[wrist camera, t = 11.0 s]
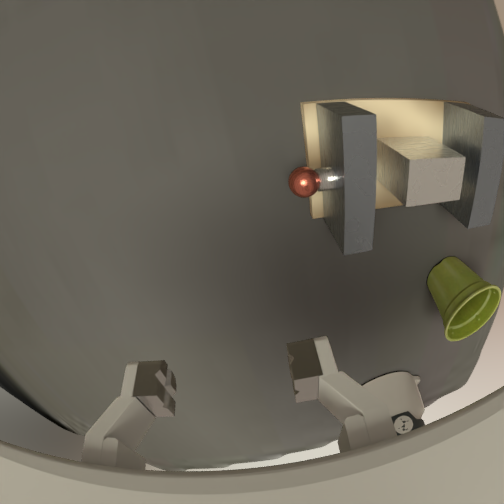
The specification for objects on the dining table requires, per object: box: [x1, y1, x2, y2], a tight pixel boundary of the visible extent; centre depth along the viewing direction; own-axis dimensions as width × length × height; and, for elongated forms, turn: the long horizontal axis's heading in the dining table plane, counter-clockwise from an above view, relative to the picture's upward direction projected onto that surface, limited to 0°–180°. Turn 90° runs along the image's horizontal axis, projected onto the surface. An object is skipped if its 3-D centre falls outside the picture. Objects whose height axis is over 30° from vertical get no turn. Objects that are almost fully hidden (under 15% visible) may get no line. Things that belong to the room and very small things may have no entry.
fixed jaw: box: [439, 102, 504, 229], centre depth 23 cm, size 11×4×6 cm, turn 9°
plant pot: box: [427, 257, 501, 341], centre depth 33 cm, size 9×9×9 cm
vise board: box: [300, 98, 471, 219], centre depth 26 cm, size 11×18×1 cm, turn 99°
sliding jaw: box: [288, 102, 377, 255], centre depth 23 cm, size 11×6×6 cm, turn 9°
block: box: [377, 136, 466, 207], centre depth 23 cm, size 4×6×6 cm, turn 99°
